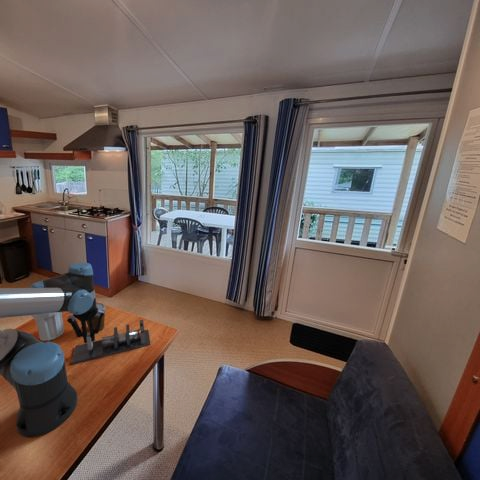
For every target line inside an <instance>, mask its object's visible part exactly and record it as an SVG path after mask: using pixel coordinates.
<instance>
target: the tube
mask: <svg viewBox="0 0 480 480" xmlns="http://www.w3.org/2000/svg"><path fill="white" fill-rule="evenodd" d="M129 331H130V332H129V333H130V340H135V339H140V338H141V330H140V328H138V329H135V330H129ZM101 340H102V347H105V346H109V345H114V334H113V335H108V336H104V337H102V338H101ZM126 341H127V334H126V331H125V332H121V333H118V334H117V343H122V342H126Z"/></svg>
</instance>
